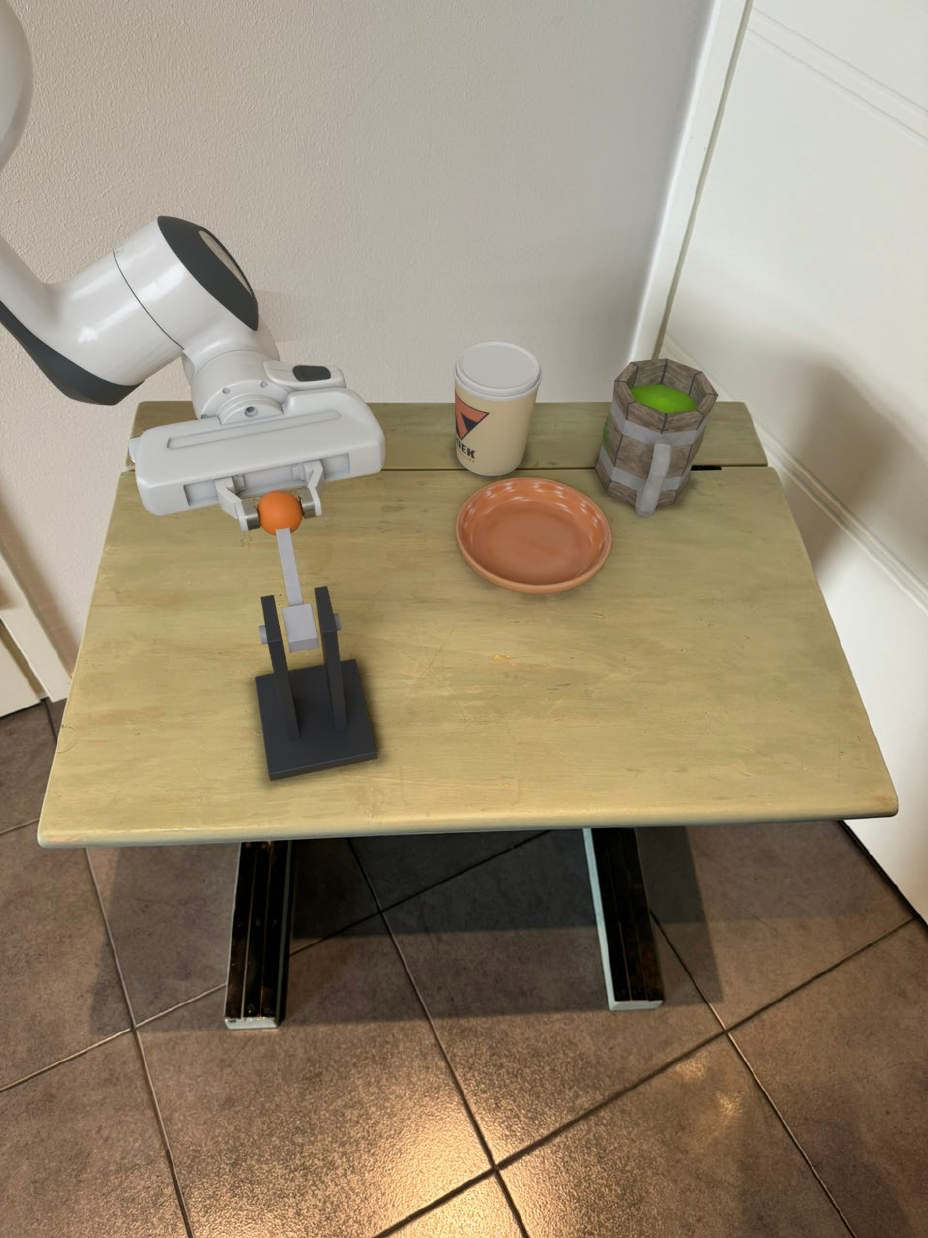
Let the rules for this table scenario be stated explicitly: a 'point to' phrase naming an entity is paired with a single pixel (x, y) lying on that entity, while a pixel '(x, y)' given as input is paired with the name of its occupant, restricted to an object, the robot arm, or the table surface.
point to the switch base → (311, 702)
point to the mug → (653, 432)
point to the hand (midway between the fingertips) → (282, 517)
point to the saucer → (533, 535)
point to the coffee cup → (494, 405)
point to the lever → (289, 566)
